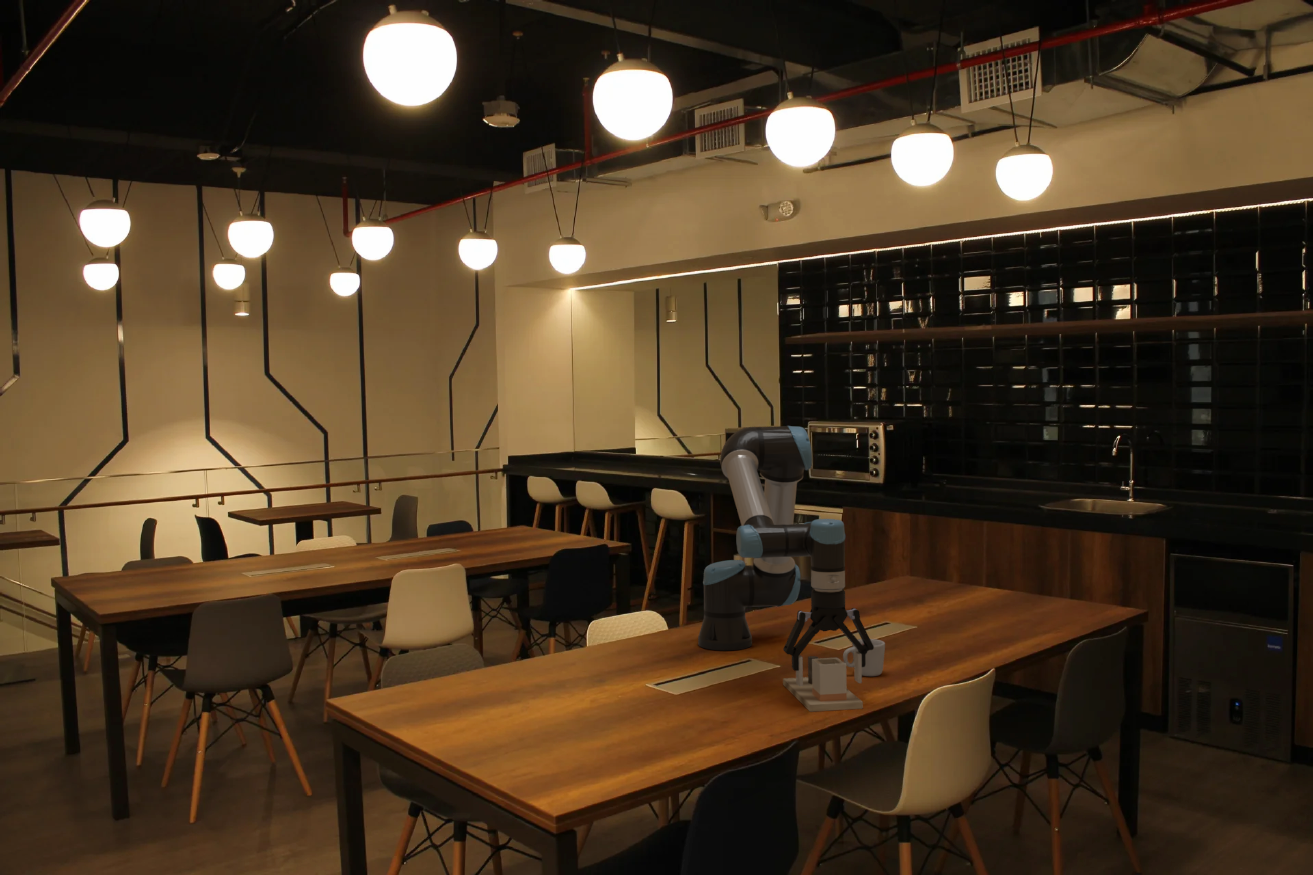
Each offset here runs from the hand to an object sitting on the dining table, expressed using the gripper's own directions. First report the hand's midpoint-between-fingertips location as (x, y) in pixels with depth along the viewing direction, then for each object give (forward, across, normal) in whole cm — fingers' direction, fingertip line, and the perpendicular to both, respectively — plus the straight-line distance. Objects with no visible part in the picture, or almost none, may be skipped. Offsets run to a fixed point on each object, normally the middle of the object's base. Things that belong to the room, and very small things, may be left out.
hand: (828, 683), depth 224 cm
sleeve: (+3, 0, 0) cm, 3 cm away
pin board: (+5, 0, +6) cm, 7 cm away
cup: (+5, +16, +22) cm, 27 cm away
